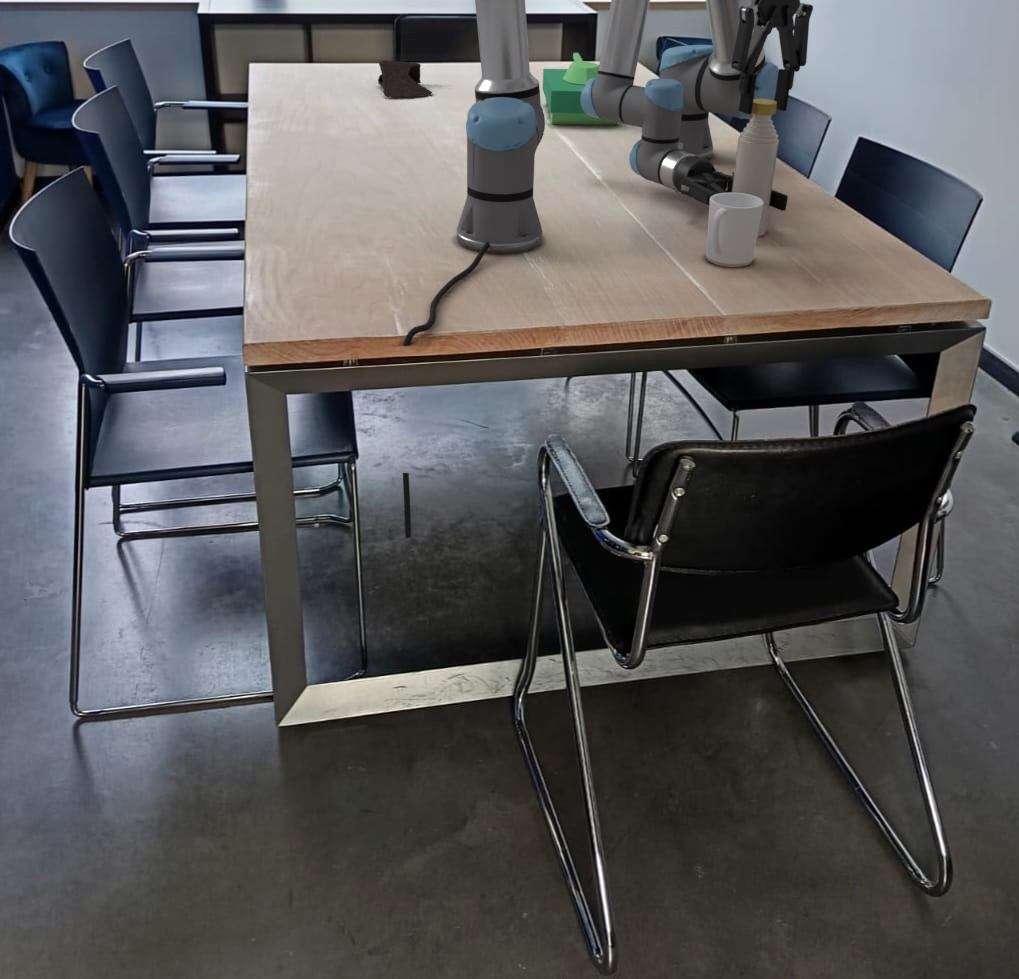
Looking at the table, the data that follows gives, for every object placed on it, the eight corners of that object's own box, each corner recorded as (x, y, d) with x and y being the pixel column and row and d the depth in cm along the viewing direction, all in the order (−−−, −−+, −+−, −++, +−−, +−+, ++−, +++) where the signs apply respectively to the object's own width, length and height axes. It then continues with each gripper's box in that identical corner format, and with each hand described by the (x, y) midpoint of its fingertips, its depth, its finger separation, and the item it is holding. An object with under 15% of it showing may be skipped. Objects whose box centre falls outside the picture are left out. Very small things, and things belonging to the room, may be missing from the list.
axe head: (443, 87, 294) (392, 77, 287) (436, 115, 299) (385, 106, 292) (421, 62, 307) (371, 52, 300) (414, 89, 311) (365, 80, 304)
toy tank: (607, 49, 292) (625, 75, 262) (604, 97, 299) (621, 128, 269) (541, 48, 291) (552, 74, 261) (539, 96, 298) (549, 127, 268)
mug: (719, 246, 195) (726, 189, 189) (764, 258, 190) (773, 199, 185) (687, 262, 187) (693, 203, 182) (733, 275, 183) (741, 214, 177)
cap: (752, 108, 195) (754, 97, 194) (778, 111, 193) (779, 100, 192) (746, 113, 191) (747, 102, 190) (772, 116, 189) (773, 105, 189)
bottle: (766, 227, 205) (784, 101, 194) (764, 238, 200) (783, 110, 188) (728, 223, 207) (744, 98, 195) (725, 235, 201) (741, 107, 189)
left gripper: (746, -30, 173) (728, 120, 185) (844, -33, 181) (821, 110, 193) (719, -35, 179) (703, 110, 191) (815, -38, 186) (794, 102, 198)
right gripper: (725, 187, 220) (806, 218, 203) (645, 200, 211) (723, 234, 194) (730, 149, 216) (813, 178, 199) (649, 161, 207) (728, 192, 190)
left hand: (762, 110), depth 192 cm, fingers open, 7 cm apart
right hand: (768, 206), depth 197 cm, fingers closed on bottle, 7 cm apart
